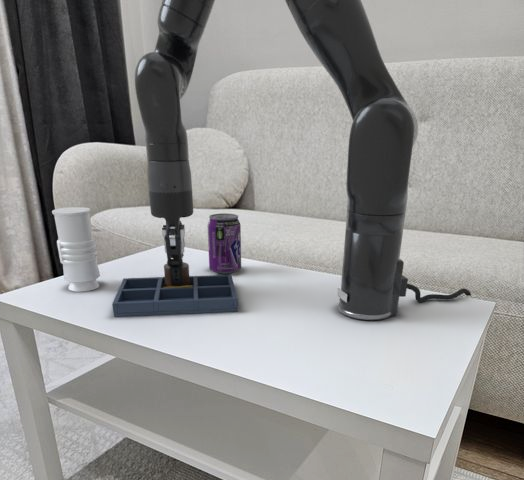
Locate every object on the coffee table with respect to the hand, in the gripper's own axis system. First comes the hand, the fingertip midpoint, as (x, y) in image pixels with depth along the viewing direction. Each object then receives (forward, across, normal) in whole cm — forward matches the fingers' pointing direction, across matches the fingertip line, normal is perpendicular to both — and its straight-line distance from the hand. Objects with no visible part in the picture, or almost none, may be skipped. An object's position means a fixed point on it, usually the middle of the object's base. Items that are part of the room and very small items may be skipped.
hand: (177, 281), depth 90 cm
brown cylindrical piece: (0, 0, 0) cm, 0 cm away
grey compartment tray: (+3, -3, 0) cm, 4 cm away
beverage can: (+3, +15, -10) cm, 18 cm away
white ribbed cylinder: (+3, +7, +19) cm, 20 cm away
